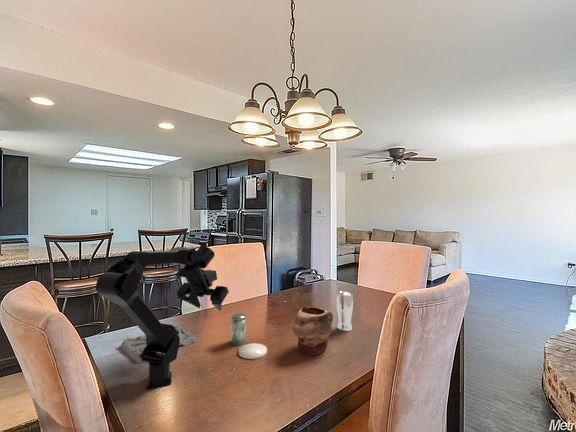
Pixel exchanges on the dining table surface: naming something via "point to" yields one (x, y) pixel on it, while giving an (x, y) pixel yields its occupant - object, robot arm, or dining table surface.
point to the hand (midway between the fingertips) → (209, 308)
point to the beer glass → (344, 310)
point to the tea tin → (238, 329)
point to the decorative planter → (313, 329)
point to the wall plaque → (138, 344)
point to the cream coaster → (253, 351)
